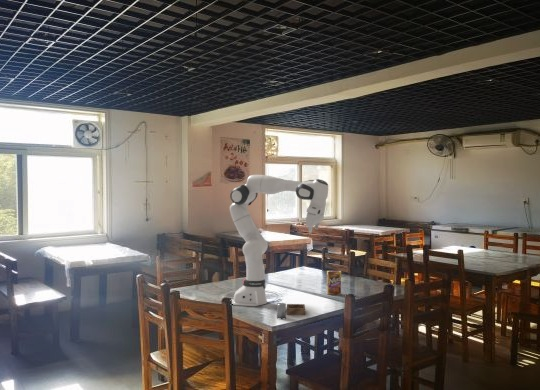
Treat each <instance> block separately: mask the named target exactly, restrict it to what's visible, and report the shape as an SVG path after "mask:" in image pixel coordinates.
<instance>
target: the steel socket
mask: <svg viewBox="0 0 540 390" xmlns="http://www.w3.org/2000/svg"><path fill="white" fill-rule="evenodd" d="M278 318H281V319H280V320H283V319H282V318H285V319H286V318H287V304H286V303H284V302H277V303H276V319H278Z"/></svg>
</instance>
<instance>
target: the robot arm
mask: <svg viewBox="0 0 540 390" xmlns="http://www.w3.org/2000/svg"><path fill="white" fill-rule="evenodd" d="M282 192H295V195H296V197H297V198H299V199H300V200H307V201H310V203H309V206H308V207H307V208H306V216H305V226H306V227H308V233H309V234H312V233H313V227H314V230H318V229H319V226H320V224H321V222H323V221H324V219H325V218H324V217H325V211H326V210H325V209H326V207H327V199H328V194H329V184H328V182H327V181H326V180H323V179H319V178H316V179H308V180H305V181H299V180H297V181H296V180H290V179H284V178H280V177H276V176H271V175H266V174H251V175H249V176H248V177H247V180H246V183H245V184H241V185H239V186H236V187H234V188H233V189H232V190H231V191H230V200H231V202H232V203H231V204H230V205H229V213H230V217H231V219H232V222H233V224H234V226H235V228H236V231H237V233H238V234H239V236H240V237H242V239H243V240H244V242H245V243H244V244H243V245H242V253H243V256H244V261H245V266H246V270H245V271H246V278H244V279H242V286H240V287H239V288H238V289H236V291H234V295H233V298H231V300H232V304H233V305H232V306H244V307H245V306H247V307H257V306H263V305H265V304H267V303H268V300H267V295H266V278H265V277H266V276H265V273H266V272H265V271H266V270H265V269H266V268H265V264H264V261H263V255H264V254H265V253H266V252H267V250H268V248H269V247H268V241H267V240H266V239H265V238H264V237H263V235H262V234H261V232H260V231H259V229H258V228H257V226H256V224H255V222H254V220H253V218H252V216H251V213H250V211H249V209H248V206H251V204H252V203H253V202H254V201H256V199H257V197H258V194H263V195H275V194H278V193H282Z"/></svg>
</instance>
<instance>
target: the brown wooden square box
mask: <svg viewBox="0 0 540 390" xmlns="http://www.w3.org/2000/svg"><path fill="white" fill-rule="evenodd" d="M305 315H306V305H305V304H304V303H287V304H286V316H305Z"/></svg>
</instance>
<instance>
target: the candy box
mask: <svg viewBox="0 0 540 390" xmlns="http://www.w3.org/2000/svg"><path fill="white" fill-rule="evenodd" d="M326 294H327V295H341V294H342V270H326Z"/></svg>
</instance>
